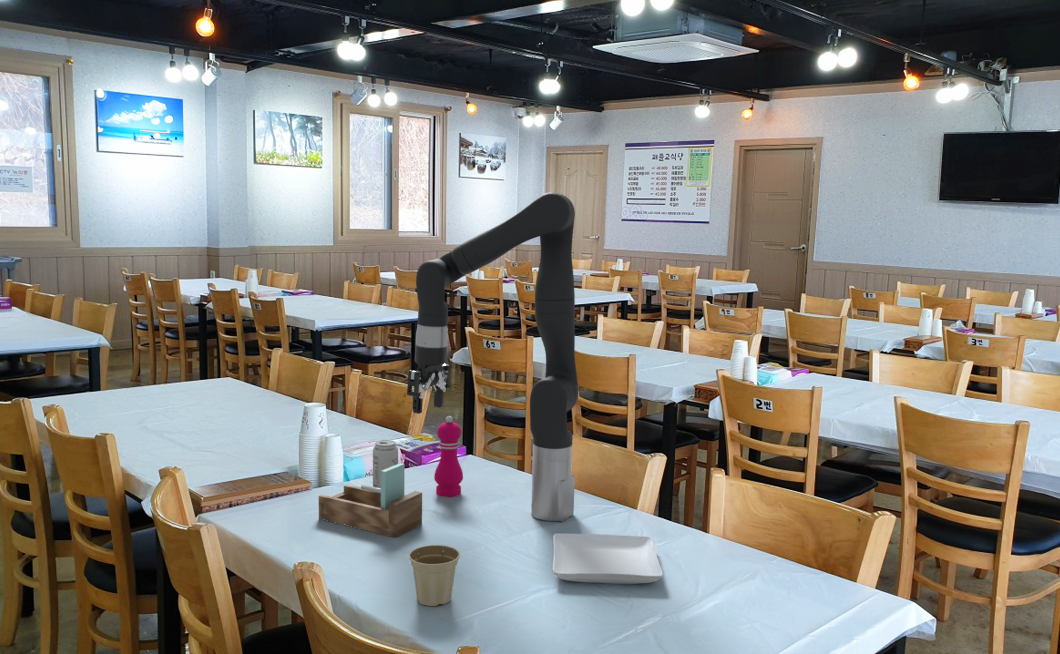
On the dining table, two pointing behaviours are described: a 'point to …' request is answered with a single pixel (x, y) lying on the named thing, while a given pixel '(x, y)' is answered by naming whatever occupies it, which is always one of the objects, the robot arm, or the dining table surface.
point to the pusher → (390, 485)
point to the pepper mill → (448, 460)
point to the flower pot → (434, 573)
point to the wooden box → (372, 511)
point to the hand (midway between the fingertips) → (428, 409)
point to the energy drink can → (383, 459)
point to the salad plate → (605, 558)
